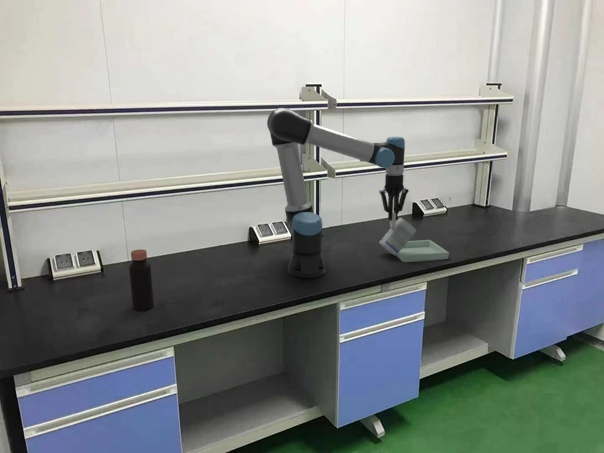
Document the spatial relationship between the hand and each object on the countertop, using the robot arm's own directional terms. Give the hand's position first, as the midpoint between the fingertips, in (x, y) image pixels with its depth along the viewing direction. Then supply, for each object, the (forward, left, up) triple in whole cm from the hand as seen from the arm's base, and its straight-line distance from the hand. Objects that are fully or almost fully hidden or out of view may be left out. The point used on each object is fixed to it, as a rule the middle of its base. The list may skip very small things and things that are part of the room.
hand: (392, 226), depth 215 cm
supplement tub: (-2, 0, -11) cm, 11 cm away
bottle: (-103, -32, -14) cm, 109 cm away
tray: (+13, 0, -14) cm, 19 cm away
